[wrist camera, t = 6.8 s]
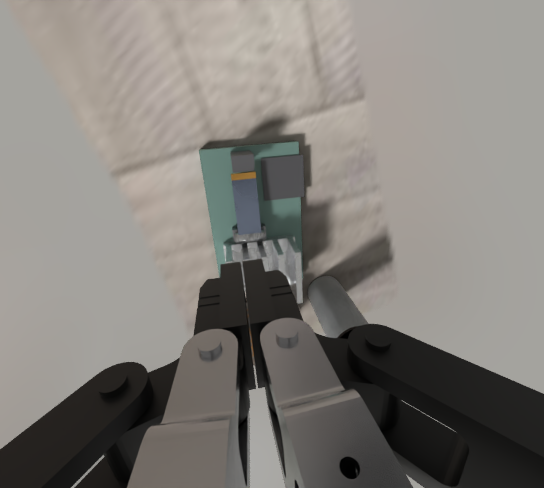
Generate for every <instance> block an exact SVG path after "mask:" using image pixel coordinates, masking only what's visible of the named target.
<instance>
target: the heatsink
mask: <svg viewBox="0 0 544 488" xmlns="http://www.w3.org/2000/svg"><path fill="white" fill-rule="evenodd" d="M261 230H265V234H266V226H265V224H261ZM232 232H233V240H234V241H233V242H225V243H223V249H224V255H225V262H226V263H233V262H241V269H242V276H243V284H244V291H246V288H245V280H244V271H243V263H242V261H248V260H255V259H262V261H263V265H264V269H265V272H266V271H273V270H279V271H280V272H281V273H283V274H284V275H285V276H286V277H287V279H288V282H289V284H290V287H291V289H292V292H293V294H294V297H295V299H296V302H297V304H298V303H303V294H302V267H301V251H300V250H299V248H298V246H297V245H296V243H295V236H294V235H293V234H290V235H282V236H274V237H266V241H260V242H252V243H244V244H236V242H235V234H234V233H238V227H232Z"/></svg>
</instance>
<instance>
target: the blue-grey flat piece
mask: <svg viewBox="0 0 544 488" xmlns="http://www.w3.org/2000/svg"><path fill="white" fill-rule="evenodd" d="M231 180H232V187H233V195H234V203H235V211H236V219H237V227H238V233H234V234H235V242H236V244H244V243H252V242H260V241H266V234H265V230H261V223H260V213H259V203H258V192H257V182H256V172H255V171H251V172H241V173H231Z"/></svg>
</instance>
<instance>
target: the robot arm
mask: <svg viewBox="0 0 544 488" xmlns="http://www.w3.org/2000/svg"><path fill="white" fill-rule="evenodd" d="M242 263H243V271H244V280H245V288H246V296H247V305H248V313H249V321H250V329H251V337H252V344H253V352H254V360H255V367H256V375H257V383H258V388H262V387H265V390H266V396H267V404H268V412H269V418H270V422H271V426H272V431H273V435H274V439H275V444H276V448H277V452H278V456H279V461H280V465H281V470H282V474H283V478H284V483H285V487H286V488H413V486H412V485H411V483H410V481H409V480H408V478H407V476H406V474H407V475H408V476H409V477H411V478H412V479H413V480H415V481H416V482H417V483H419V484H420V485H421V486H423V487H424V488H544V394H543V393H540V392H538V391H536V390H533V389H531V388H529V387H526V386H524V385H521V384H519V383H517V382H515V381H512V380H510V379H508V378H505V377H503V376H501V375H498V374H496V373H494V372H491V371H489V370H487V369H485V368H482V367H480V366H478V365H475V364H473V363H471V362H468V361H466V360H464V359H461V358H459V357H457V356H454V355H452V354H450V353H447V352H445V351H443V350H440V349H438V348H436V347H433V346H431V345H429V344H426V343H424V342H422V341H420V340H417V339H415V338H412V337H410V336H408V335H405V334H403V333H401V332H399V331H396V330H394V329H391V328H389V327H387V326H383V325H378V324H365V325H361V326H358V327H356V328H355V329H353V330H352V331H351V332H350V334H349V336H348V339H342V338H331V337H325V336H322V335H319V334H317V333H315V332H314V331H313V329H312V328H311V327H310V326H309V325H308V324H307V323H306V322H304V321H303V319H302V316H301V313H300V311H299V308H298V306H297V303H296V300H295V298H294V295H293V293H292V290H291V287H290V284H289V282H288V279H287V277H286V276H285V275H284V274H283V273H281V272H280V271H279V270H273V271H266V272H265V269H264V265H263V261H262V259H255V260H248V261H242ZM252 389H256V385H255V376H254V368H253V359H252V350H251V341H250V332H249V324H248V315H247V307H246V299H245V291H244V284H243V276H242V269H241V262H233V263H226V264H221V265H220V278H215V279H208V280H207V281H206V282H205V283H204V284H203V286H202V287H201V288H200V293H199V300H198V308H197V315H196V322H195V329H194V336H193V337H192V338H191V339H190V340H188V342H187V343H186V344H185V345H184V347H183V350H182V353H181V356H180V358H178V359H177V360H175V361H174V362H172V363H170V364H168V365H166V366H164V367H161V368H158V369H157V370H154V371H151V372H149V373H148V372H147V370H146V368H145V367H144V366H143V365H141V364H139V363H135V362H126V363H120V364H116V365H114V366H111V367H109V368H107V369H105V370H103V371H102V372H100V373H99V374H97V375H96V376H95V377H93V378H92V379H91V380H89V381H88V382H87V383H86V384H84V385H83V386H82V387H80V388H79V389H78V390H77V391H75V392H74V393H73V394H71V395H70V396H69V397H67V398H66V399H65V400H64V401H62V402H61V403H60V404H59V405H57V406H56V407H54V408H53V409H52V410H51V411H49V412H48V413H47V414H45V415H44V416H43V417H42V418H40V419H39V420H38V421H36V422H35V423H34V424H33V425H31V426H30V427H29V428H27V429H26V430H25V431H24V432H22V433H21V434H20V435H18V436H17V437H16V438H14V439H13V440H12V441H11V442H9V443H8V444H7V445H6V446H4V447H3V448H2V449H0V488H71V487H72V486H73V485H74V484H75V483H76V481H78V480H79V479H80V478H81V477H82V476H83V474H85V473H86V472H87V470H88V469H90V468H91V466H92V465H93V464H94V463H95V462H96V461H97V460H98V459H99V458H100V457H101V456H102V455H104V456H105V457H104V458H103V459H102V460H101V461H100V462H99V463H98V464H97V465H96V466H95V467H94V468H93V469H92V470H91V471H90V472H89V473H88V475H86V476H85V478H84V479H82V480H81V482H80V483H79V484H78V485H77V486H76V487H75V488H250V428H249V427H250V426H249V425H250V418H249V408H250V399H249V390H252ZM402 400H403V401H404V402H406V403H408V404H410V405H411V406H413V407H415V408H417V409H419V410H420V411H422V412H423V413H425V414H427V415H429V416H430V417H432V418H434V419H435V420H438V421H439V422H441V423H442V424H444V425H446V426H448V427H450V428H451V429H453V430H454V431H456V432H457V433H456V432H454V431H453V430H451V429H449V428H448V427H445V426H444V425H442V424H441V423H439V422H437V421H435V420H434V419H432V418H430V417H428V416H427V415H425V414H423V413H422V412H420V411H418V410H416V409H415V408H413V407H411V406H409V405H408V404H406V403H404V402H403V401H402Z"/></svg>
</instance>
